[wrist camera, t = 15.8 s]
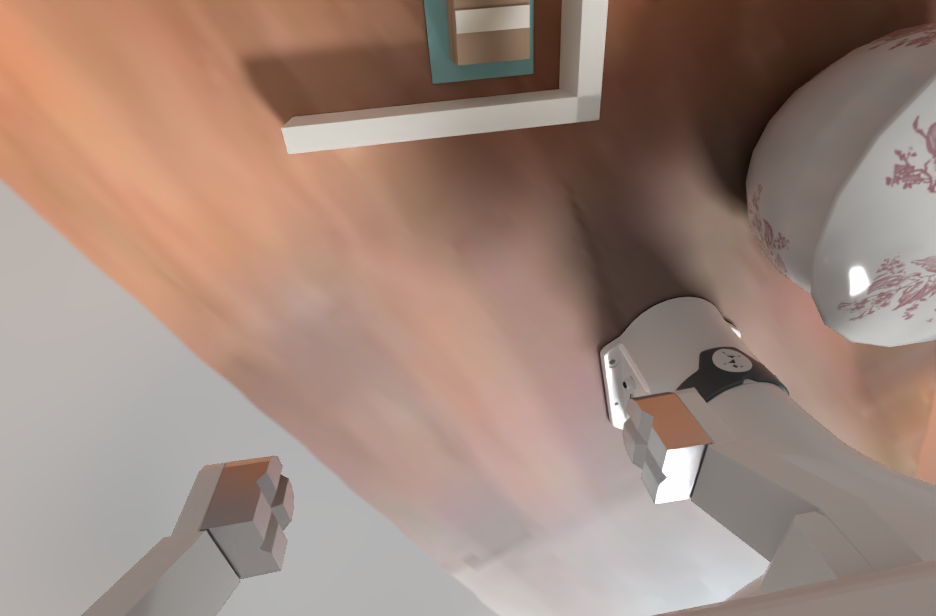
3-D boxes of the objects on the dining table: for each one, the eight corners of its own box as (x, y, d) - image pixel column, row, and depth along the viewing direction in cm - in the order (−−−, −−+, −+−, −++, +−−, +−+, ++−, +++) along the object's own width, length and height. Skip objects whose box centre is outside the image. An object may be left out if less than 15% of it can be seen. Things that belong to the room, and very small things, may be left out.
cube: (512, -24, 36) (530, -31, 32) (513, 54, 39) (530, 58, 35) (444, -19, 36) (452, -25, 31) (450, 60, 39) (458, 65, 34)
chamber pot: (668, 96, 43) (851, 147, 26) (966, -72, 39) (1417, -144, 22) (719, 306, 58) (857, 427, 41) (940, 199, 54) (1197, 283, 37)
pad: (532, 73, 41) (533, 73, 40) (432, 83, 40) (432, 84, 40) (532, -55, 36) (533, -55, 36) (418, -46, 35) (418, -46, 35)
